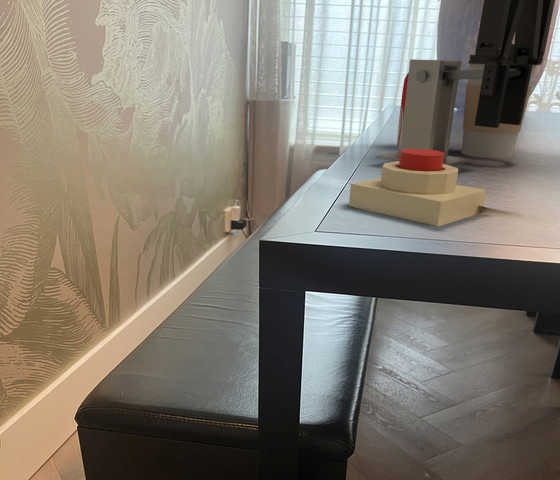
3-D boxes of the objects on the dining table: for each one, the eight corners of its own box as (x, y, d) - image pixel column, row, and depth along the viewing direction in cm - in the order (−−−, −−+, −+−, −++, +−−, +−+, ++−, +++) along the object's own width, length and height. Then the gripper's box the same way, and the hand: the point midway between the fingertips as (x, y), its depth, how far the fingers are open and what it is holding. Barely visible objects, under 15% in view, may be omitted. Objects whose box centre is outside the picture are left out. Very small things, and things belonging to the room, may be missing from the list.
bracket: (470, 168, 81) (487, 61, 75) (438, 175, 76) (454, 60, 70) (407, 158, 88) (419, 59, 82) (374, 164, 82) (384, 58, 76)
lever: (523, 83, 72) (526, 61, 71) (503, 84, 69) (506, 60, 68) (434, 86, 80) (435, 66, 79) (412, 87, 77) (414, 65, 76)
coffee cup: (517, 168, 83) (542, 43, 76) (450, 162, 85) (468, 41, 78) (518, 159, 90) (541, 44, 83) (456, 154, 93) (473, 43, 86)
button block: (482, 213, 58) (490, 170, 56) (437, 227, 53) (444, 179, 51) (395, 196, 64) (400, 156, 62) (348, 206, 59) (351, 164, 57)
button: (449, 172, 57) (452, 152, 56) (426, 176, 55) (429, 156, 54) (413, 166, 60) (415, 147, 59) (389, 170, 57) (391, 151, 56)
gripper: (544, -98, 70) (503, 118, 81) (466, -132, 59) (430, 126, 70) (612, -107, 66) (559, 124, 77) (541, -145, 54) (490, 133, 65)
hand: (497, 124), depth 73 cm, fingers closed on lever, 5 cm apart
